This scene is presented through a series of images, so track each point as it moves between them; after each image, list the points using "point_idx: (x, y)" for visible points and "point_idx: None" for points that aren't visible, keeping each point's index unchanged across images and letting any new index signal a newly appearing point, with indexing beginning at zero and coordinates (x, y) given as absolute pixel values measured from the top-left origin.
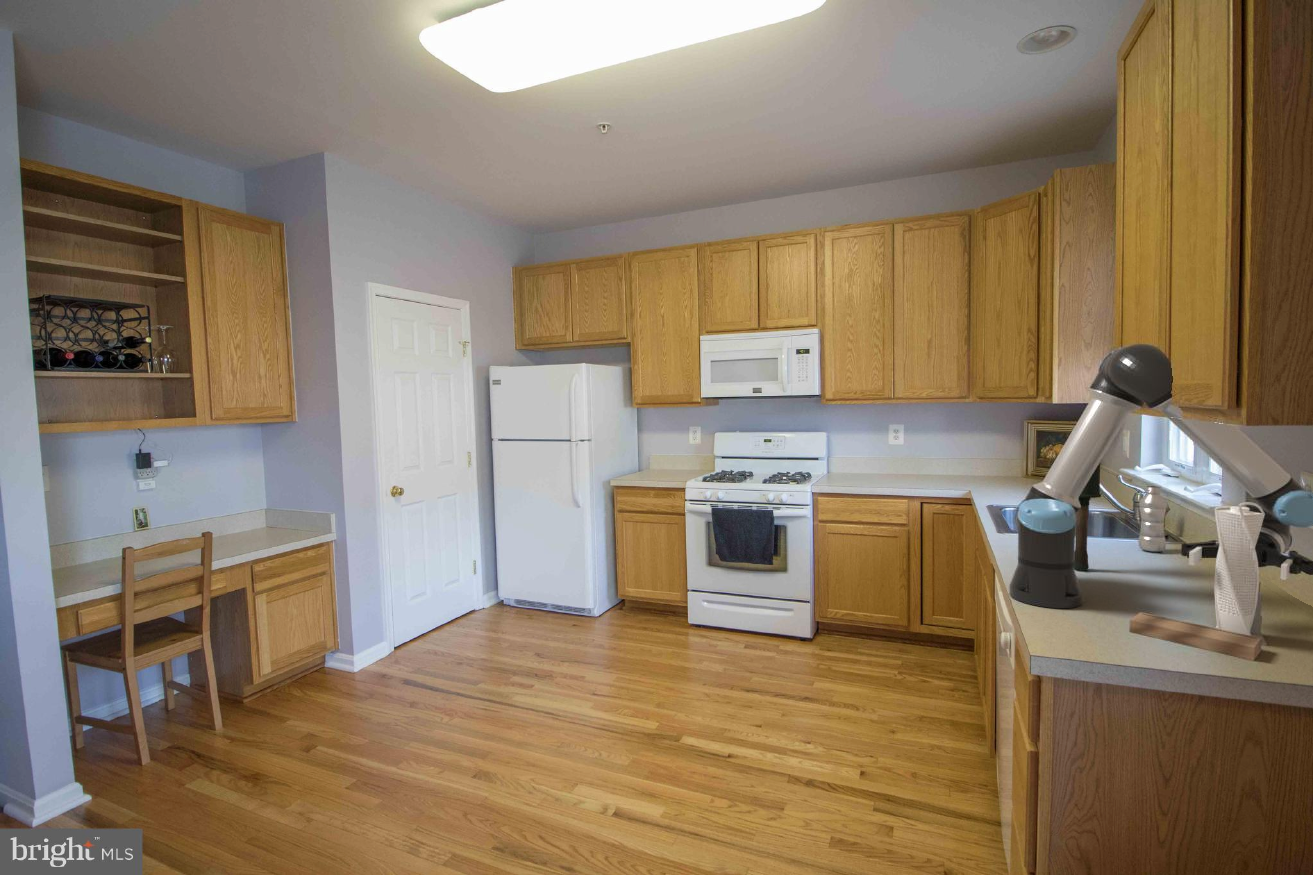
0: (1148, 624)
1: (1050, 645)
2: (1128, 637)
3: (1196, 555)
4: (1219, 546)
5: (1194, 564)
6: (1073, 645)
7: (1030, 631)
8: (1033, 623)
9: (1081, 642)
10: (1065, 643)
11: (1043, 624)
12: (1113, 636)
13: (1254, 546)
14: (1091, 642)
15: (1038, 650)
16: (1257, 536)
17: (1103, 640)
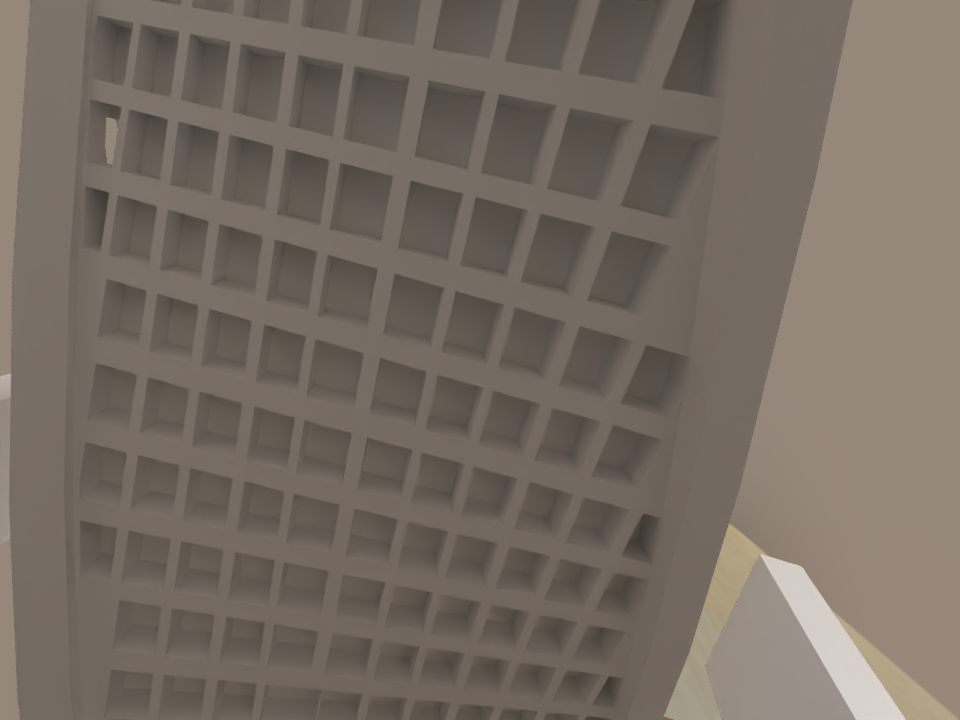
0: (663, 717)
1: (743, 556)
2: (679, 701)
3: (784, 695)
4: (659, 707)
5: (717, 696)
6: (718, 572)
7: (847, 624)
8: (919, 700)
9: (723, 597)
10: (737, 577)
11: (901, 705)
12: (711, 687)
13: (60, 498)
14: (710, 607)
15: (732, 527)
16: (66, 203)
17: (704, 635)
